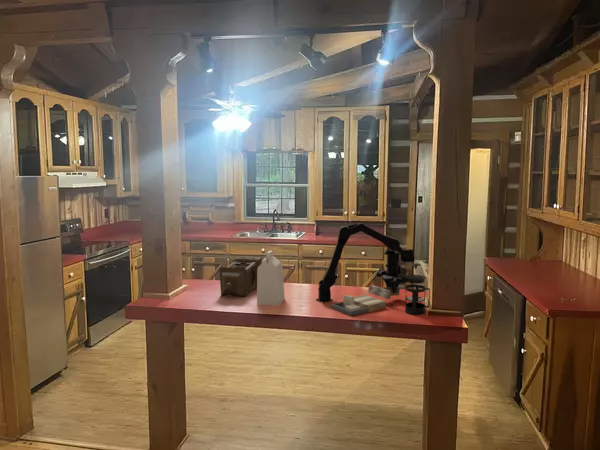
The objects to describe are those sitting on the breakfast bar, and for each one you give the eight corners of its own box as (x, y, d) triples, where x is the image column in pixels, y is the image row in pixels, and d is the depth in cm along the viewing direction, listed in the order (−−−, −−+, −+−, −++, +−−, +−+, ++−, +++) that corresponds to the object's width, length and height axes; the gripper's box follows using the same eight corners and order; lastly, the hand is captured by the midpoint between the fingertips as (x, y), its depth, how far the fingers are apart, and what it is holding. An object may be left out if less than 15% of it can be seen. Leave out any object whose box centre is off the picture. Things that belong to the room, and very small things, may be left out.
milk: (279, 305, 227) (277, 254, 224) (256, 304, 230) (255, 253, 226) (284, 298, 239) (283, 249, 236) (263, 297, 241) (262, 249, 238)
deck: (348, 304, 227) (348, 298, 227) (365, 300, 233) (365, 294, 233) (368, 311, 215) (368, 305, 215) (385, 307, 221) (385, 301, 220)
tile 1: (347, 304, 225) (343, 305, 224) (347, 294, 225) (343, 295, 223) (353, 307, 221) (349, 307, 220) (353, 297, 220) (349, 297, 219)
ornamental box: (240, 307, 233) (243, 273, 230) (208, 301, 237) (211, 267, 234) (263, 288, 267) (265, 257, 263) (234, 282, 271) (237, 252, 267)
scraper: (368, 292, 233) (369, 285, 233) (387, 291, 241) (388, 284, 241) (387, 299, 222) (388, 291, 222) (407, 297, 229) (408, 290, 229)
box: (331, 308, 222) (331, 304, 222) (348, 304, 227) (348, 300, 227) (351, 316, 209) (351, 312, 209) (368, 312, 215) (368, 307, 215)
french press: (401, 313, 212) (402, 265, 209) (404, 307, 220) (405, 261, 217) (428, 316, 207) (429, 266, 204) (430, 310, 216) (431, 262, 213)
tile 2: (353, 304, 218) (353, 309, 218) (345, 306, 215) (345, 311, 215) (360, 306, 213) (360, 311, 214) (351, 308, 211) (351, 313, 211)
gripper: (418, 263, 228) (417, 294, 230) (391, 257, 243) (391, 286, 245) (402, 266, 222) (401, 297, 224) (375, 260, 237) (375, 289, 239)
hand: (392, 292), depth 233 cm, fingers closed on scraper, 2 cm apart
